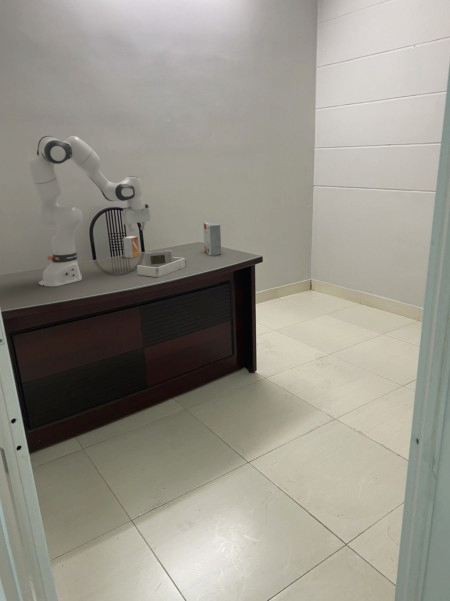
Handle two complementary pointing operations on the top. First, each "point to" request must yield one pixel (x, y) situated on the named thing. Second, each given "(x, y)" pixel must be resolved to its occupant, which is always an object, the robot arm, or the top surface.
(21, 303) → the top surface
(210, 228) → the hard drive box
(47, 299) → the top surface
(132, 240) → the small box
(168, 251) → the digital clock
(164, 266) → the bin
